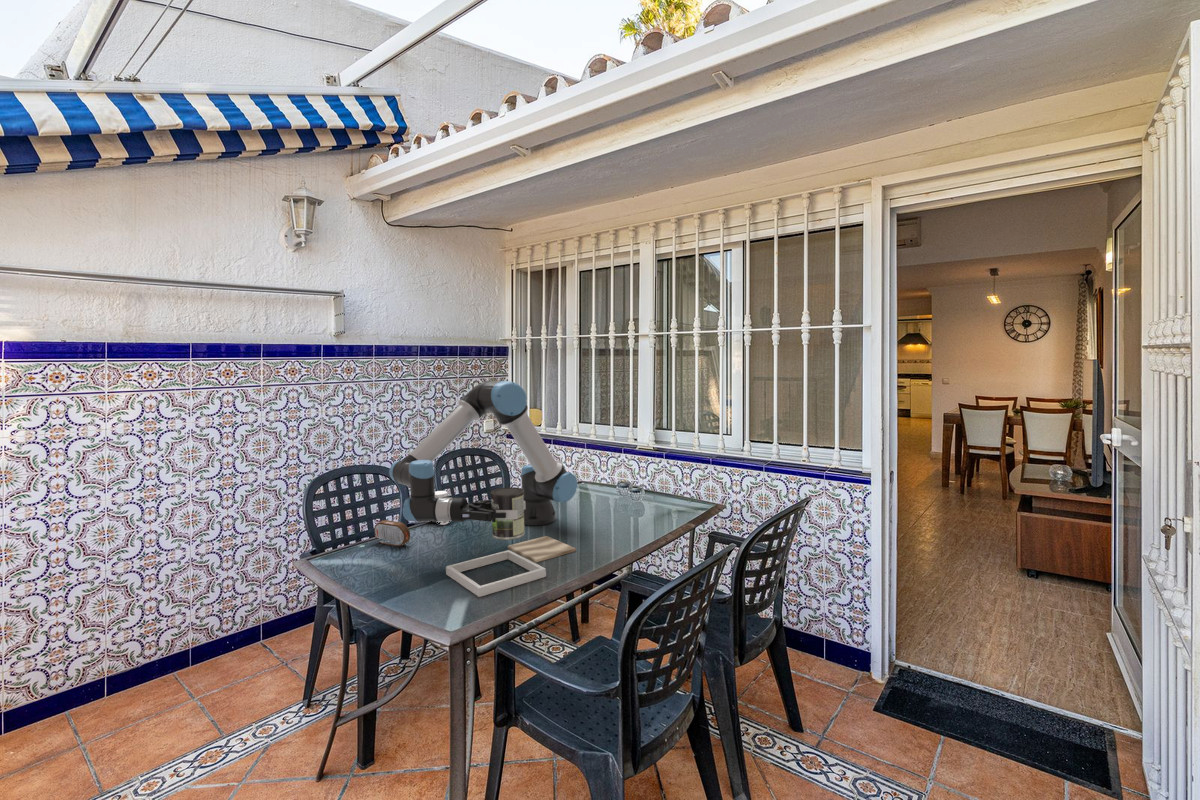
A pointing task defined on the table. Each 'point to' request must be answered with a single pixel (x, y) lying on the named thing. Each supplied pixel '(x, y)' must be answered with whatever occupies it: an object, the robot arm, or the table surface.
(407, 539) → the tin
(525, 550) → the board
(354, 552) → the table surface
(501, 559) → the white square frame
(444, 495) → the spread jar
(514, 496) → the coffee can
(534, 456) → the robot arm
